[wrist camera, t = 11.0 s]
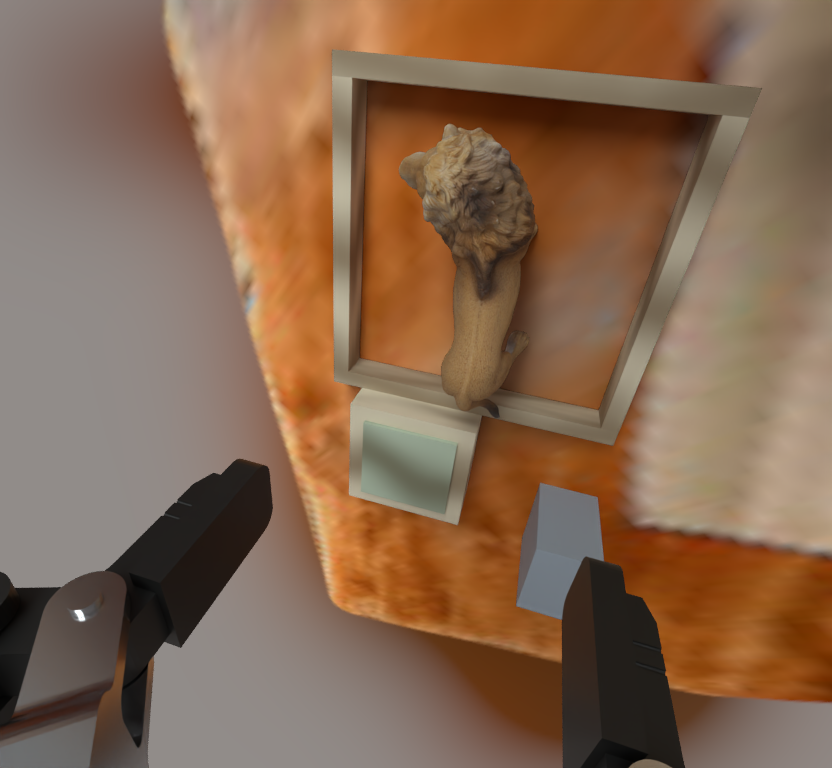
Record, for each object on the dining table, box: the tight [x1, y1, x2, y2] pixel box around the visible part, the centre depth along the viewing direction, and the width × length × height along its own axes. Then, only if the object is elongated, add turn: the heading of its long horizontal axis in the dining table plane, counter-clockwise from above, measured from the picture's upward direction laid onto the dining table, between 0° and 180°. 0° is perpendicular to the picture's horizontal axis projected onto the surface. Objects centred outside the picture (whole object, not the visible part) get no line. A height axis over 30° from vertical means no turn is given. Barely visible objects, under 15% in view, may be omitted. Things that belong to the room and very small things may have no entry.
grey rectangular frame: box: [332, 50, 762, 525], centre depth 26 cm, size 26×18×4 cm
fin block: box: [516, 483, 604, 620], centre depth 31 cm, size 6×4×6 cm, turn 174°
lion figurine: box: [399, 124, 538, 418], centre depth 22 cm, size 15×5×9 cm, turn 9°
